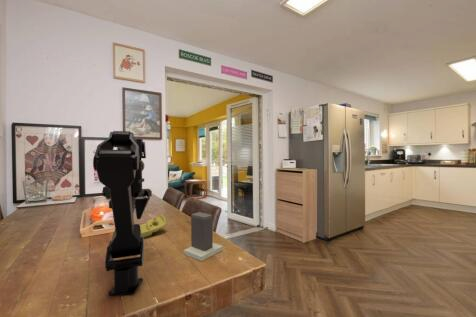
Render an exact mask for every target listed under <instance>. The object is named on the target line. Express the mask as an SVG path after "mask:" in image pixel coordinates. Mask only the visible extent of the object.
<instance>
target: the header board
mask: <svg viewBox="0 0 476 317" xmlns="http://www.w3.org/2000/svg"><path fill="white" fill-rule="evenodd" d="M222 251H224V245H222V244H219V243H215V242H213V248H211V249H209V250H207V251H202V250H199V249H197V248H194V247H191V246H189V247H187V248H186V249H183V255H185V256H188V257H190V258H192V259H195V260H196V261H200V262H204V261H205V260H207V259H208V258H210V257H212V256H214V255H216V254H218V253H220V252H222Z"/></svg>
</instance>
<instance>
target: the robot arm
mask: <svg viewBox="0 0 476 317" xmlns="http://www.w3.org/2000/svg"><path fill="white" fill-rule="evenodd" d="M115 148H116V149H115ZM146 153H147V152H146V142H145V141H144V139H143V138H142V137H141V138H136V137H135V134H134V132H131V131H130V130H129V131H123V130H113V131H110V132H109V135H108V137H107V138H106V139H104V140H103V141H102V142H100V143H99V144H98V145H97V146H96V149H95V152H94V155H93V161H92V164H93V166H92V167H93V170H94V172H96V173H97V177H98V182H99V183H101V184H102V185H103V187H102V191H101V192H102V193H101V196H102V197H104V198H106V201H107V200H109V201H108V209H111V210H112V217H113V223H114V231H113V233H112V236H111V240H110V241H109V242H108V243H109V244H108V246H107V247H106V253H105V261H104V264H105V265H104V266H105V269H106V270H105V272H110V271H113V280H114V281H113V286H112V287H111V289H110V290H109V291H108V293H107V294H108V296H118V295H120V296H121V295H135V293H136V292H137V290H138V288H139V287H140V285H141V284H142V282H143V281H144V279H143V278H141V277H139V267H142V266H143V265H144V259H145V237H142V235H141V229H140V225H141V224H139V223H136V224H135V220H134V213H135V215H136V219H137V220H141V219H142V217H143V214H144V212H145V210H146V207H147V205H148V203H149V201H150V200H151V197H152V195H153V194H152V192H153V191H152V190H151V189H150V188H143V182H145V178H143V170H144V169H145V163H144V161H143V160H142V159H147V154H146ZM120 258H121V259H120Z"/></svg>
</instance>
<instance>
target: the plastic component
mask: <svg viewBox="0 0 476 317" xmlns="http://www.w3.org/2000/svg"><path fill="white" fill-rule="evenodd" d="M166 223H167V219H166V217H165V216H164V214H163V213H162V214H161V213H160V214H158V215H157V216H156V217H153V218H151V219H149V220H147V222H145V223H142V224H139V225H140V229H141V235H142V237H144V238H146V237H150V236H152V234H153V233H157V232H159V230H161V229H163V227H164V226H166Z"/></svg>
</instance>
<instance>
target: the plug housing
mask: <svg viewBox="0 0 476 317" xmlns="http://www.w3.org/2000/svg"><path fill="white" fill-rule="evenodd" d="M190 218H191V219H190V221H191V222H190V230H191V233H190V234H191V235H190V236H191V237H190V238H191V242H190V243H191V247H194V248H197V249H199V250H202V251H207V250H209V249H211V248H213V243H214V242H213V214H209V213H205V212H200V211H198V212H195V213H192V214H190Z"/></svg>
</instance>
